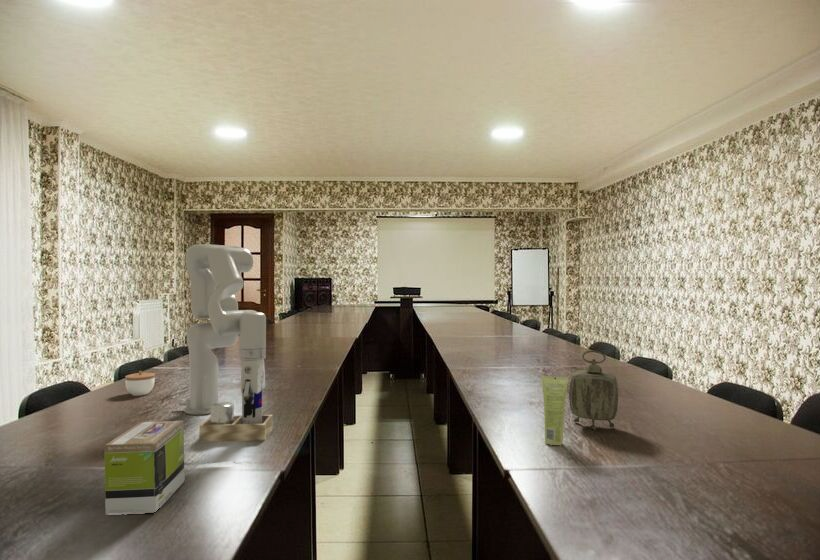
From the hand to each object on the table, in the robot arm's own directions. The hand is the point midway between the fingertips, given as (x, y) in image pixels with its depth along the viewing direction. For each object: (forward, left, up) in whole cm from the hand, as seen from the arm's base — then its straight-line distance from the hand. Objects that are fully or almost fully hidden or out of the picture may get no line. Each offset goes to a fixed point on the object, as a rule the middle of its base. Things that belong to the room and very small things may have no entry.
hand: (252, 413), depth 137 cm
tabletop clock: (+107, +3, -7) cm, 107 cm away
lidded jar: (-60, +57, -7) cm, 83 cm away
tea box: (-12, -37, -7) cm, 40 cm away
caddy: (-4, 0, -7) cm, 8 cm away
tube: (+89, -10, -7) cm, 90 cm away
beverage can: (0, 0, -5) cm, 5 cm away
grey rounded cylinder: (-9, 0, -6) cm, 11 cm away
